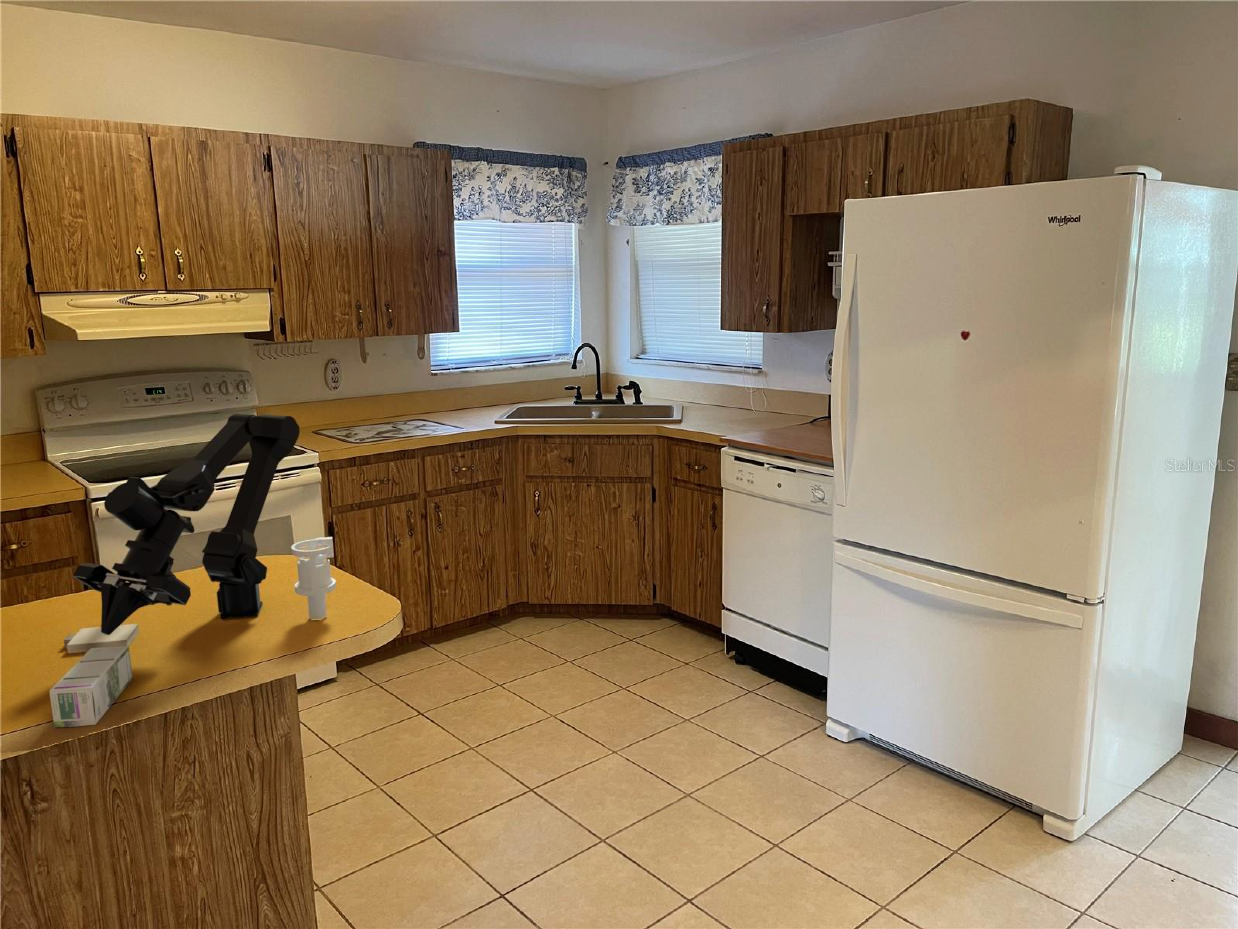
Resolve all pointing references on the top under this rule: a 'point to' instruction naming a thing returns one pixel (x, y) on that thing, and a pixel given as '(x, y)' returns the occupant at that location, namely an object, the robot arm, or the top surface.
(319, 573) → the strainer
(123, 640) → the cream flat tabbed slab
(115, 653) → the syrup box
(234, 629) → the top surface
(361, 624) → the top surface
